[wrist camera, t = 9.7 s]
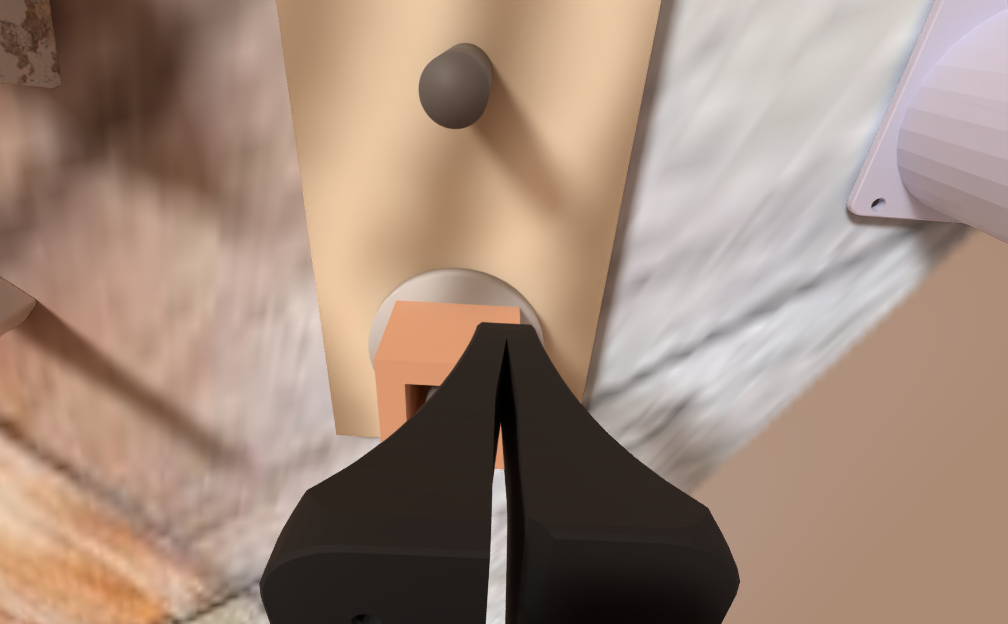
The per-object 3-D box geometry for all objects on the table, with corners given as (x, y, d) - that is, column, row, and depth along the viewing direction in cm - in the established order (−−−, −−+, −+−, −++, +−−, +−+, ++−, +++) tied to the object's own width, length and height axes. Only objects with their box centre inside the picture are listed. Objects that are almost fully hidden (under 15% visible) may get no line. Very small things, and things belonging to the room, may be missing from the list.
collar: (519, 307, 20) (521, 367, 17) (510, 400, 23) (511, 469, 20) (396, 300, 20) (373, 359, 17) (401, 395, 23) (382, 463, 19)
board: (689, -187, 14) (779, -284, 9) (570, 433, 26) (584, 525, 22) (258, -228, 14) (129, -352, 9) (342, 420, 26) (305, 511, 21)
